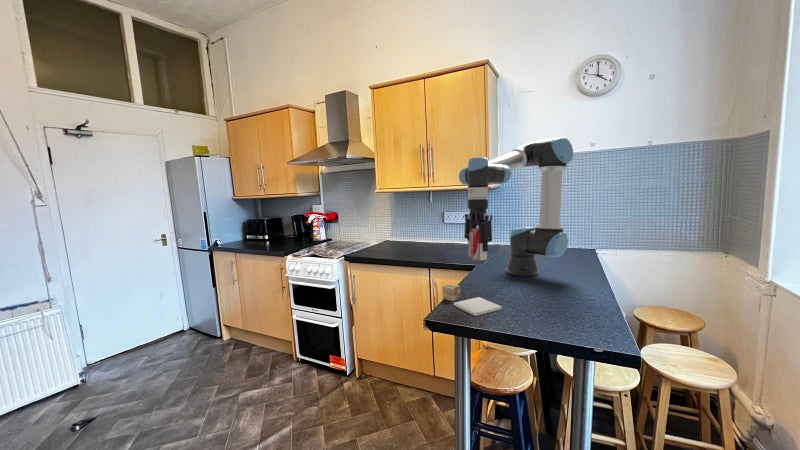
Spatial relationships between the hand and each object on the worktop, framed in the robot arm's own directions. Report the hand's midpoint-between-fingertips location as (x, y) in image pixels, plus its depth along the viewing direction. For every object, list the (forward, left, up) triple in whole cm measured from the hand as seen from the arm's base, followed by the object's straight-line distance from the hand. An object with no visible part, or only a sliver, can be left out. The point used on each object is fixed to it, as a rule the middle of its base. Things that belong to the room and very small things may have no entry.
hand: (477, 258), depth 123 cm
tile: (+7, +8, -16) cm, 19 cm away
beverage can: (0, 0, -1) cm, 1 cm away
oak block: (+9, -5, -16) cm, 19 cm away
